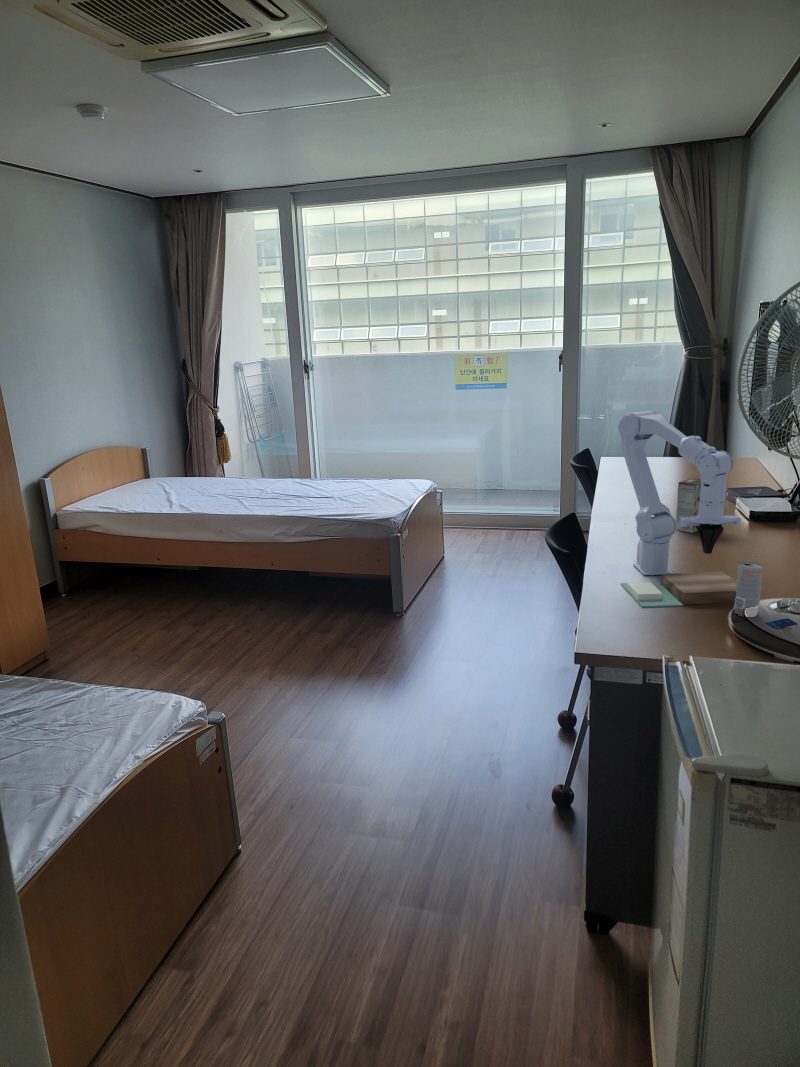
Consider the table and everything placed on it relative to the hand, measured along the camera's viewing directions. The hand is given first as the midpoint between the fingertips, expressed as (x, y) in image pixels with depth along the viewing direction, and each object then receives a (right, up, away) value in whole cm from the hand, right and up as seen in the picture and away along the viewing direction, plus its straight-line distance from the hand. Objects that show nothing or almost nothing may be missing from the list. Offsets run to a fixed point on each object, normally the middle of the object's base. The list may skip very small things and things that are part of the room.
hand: (707, 552), depth 184 cm
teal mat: (-15, -11, -2) cm, 18 cm away
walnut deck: (-2, -10, -1) cm, 10 cm away
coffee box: (+18, +6, +55) cm, 58 cm away
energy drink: (+3, -14, -15) cm, 20 cm away
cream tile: (-17, -9, -2) cm, 19 cm away
